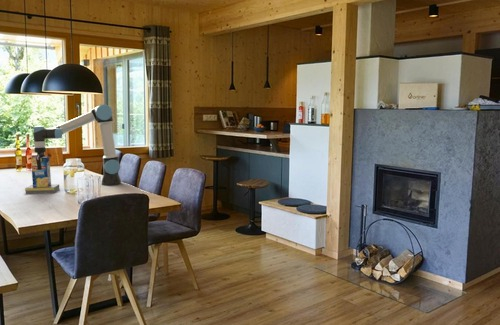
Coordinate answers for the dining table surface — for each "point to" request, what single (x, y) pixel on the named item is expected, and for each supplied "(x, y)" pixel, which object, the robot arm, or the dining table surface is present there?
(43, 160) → the beverage box
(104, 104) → the robot arm
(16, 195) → the dining table surface
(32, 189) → the panel
